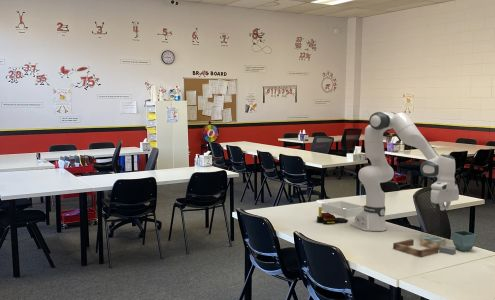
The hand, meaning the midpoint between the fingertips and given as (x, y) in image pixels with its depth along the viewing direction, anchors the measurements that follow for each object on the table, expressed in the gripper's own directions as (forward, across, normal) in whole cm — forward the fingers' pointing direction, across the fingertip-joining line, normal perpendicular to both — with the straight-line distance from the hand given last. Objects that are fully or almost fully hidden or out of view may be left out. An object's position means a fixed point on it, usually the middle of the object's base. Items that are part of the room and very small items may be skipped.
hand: (444, 209), depth 263 cm
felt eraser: (+19, +12, +11) cm, 25 cm away
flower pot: (+19, 0, +12) cm, 23 cm away
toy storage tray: (+19, -7, -84) cm, 86 cm away
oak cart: (+19, +9, 0) cm, 21 cm away
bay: (+19, +22, 0) cm, 30 cm away
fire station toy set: (+20, +19, -68) cm, 73 cm away
